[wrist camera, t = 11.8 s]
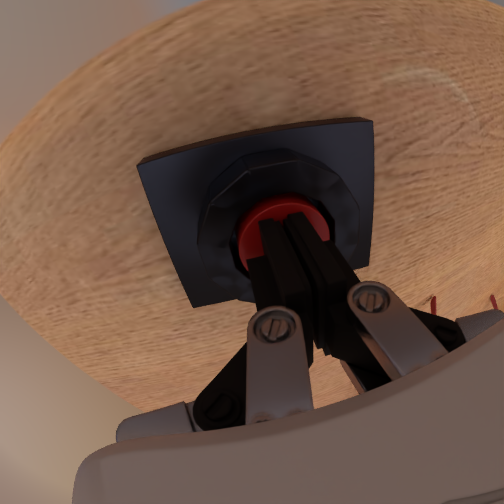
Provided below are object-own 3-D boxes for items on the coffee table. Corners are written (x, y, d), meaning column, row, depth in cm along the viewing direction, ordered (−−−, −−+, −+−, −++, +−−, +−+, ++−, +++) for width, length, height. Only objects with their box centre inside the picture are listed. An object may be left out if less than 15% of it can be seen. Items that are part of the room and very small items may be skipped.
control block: (193, 293, 15) (192, 334, 13) (142, 158, 11) (122, 180, 8) (359, 254, 15) (383, 286, 13) (360, 116, 11) (397, 128, 8)
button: (243, 266, 13) (248, 291, 11) (226, 196, 11) (229, 215, 9) (317, 249, 13) (330, 271, 11) (312, 178, 11) (328, 194, 9)
